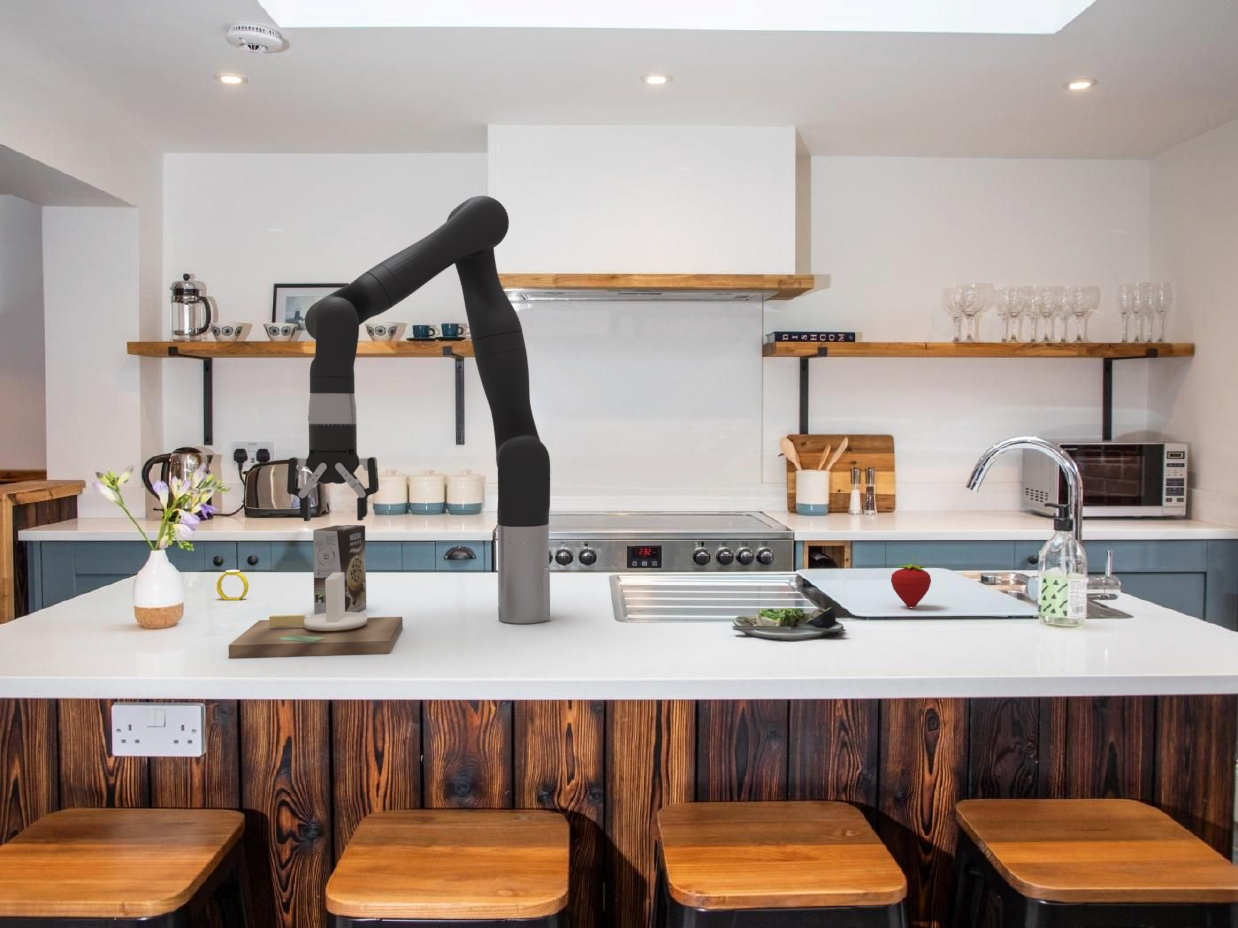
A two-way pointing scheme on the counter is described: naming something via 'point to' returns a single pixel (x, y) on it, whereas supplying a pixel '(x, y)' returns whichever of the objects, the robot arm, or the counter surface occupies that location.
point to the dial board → (317, 640)
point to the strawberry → (911, 583)
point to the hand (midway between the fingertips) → (333, 520)
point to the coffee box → (340, 564)
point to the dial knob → (334, 611)
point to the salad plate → (790, 624)
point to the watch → (237, 572)
